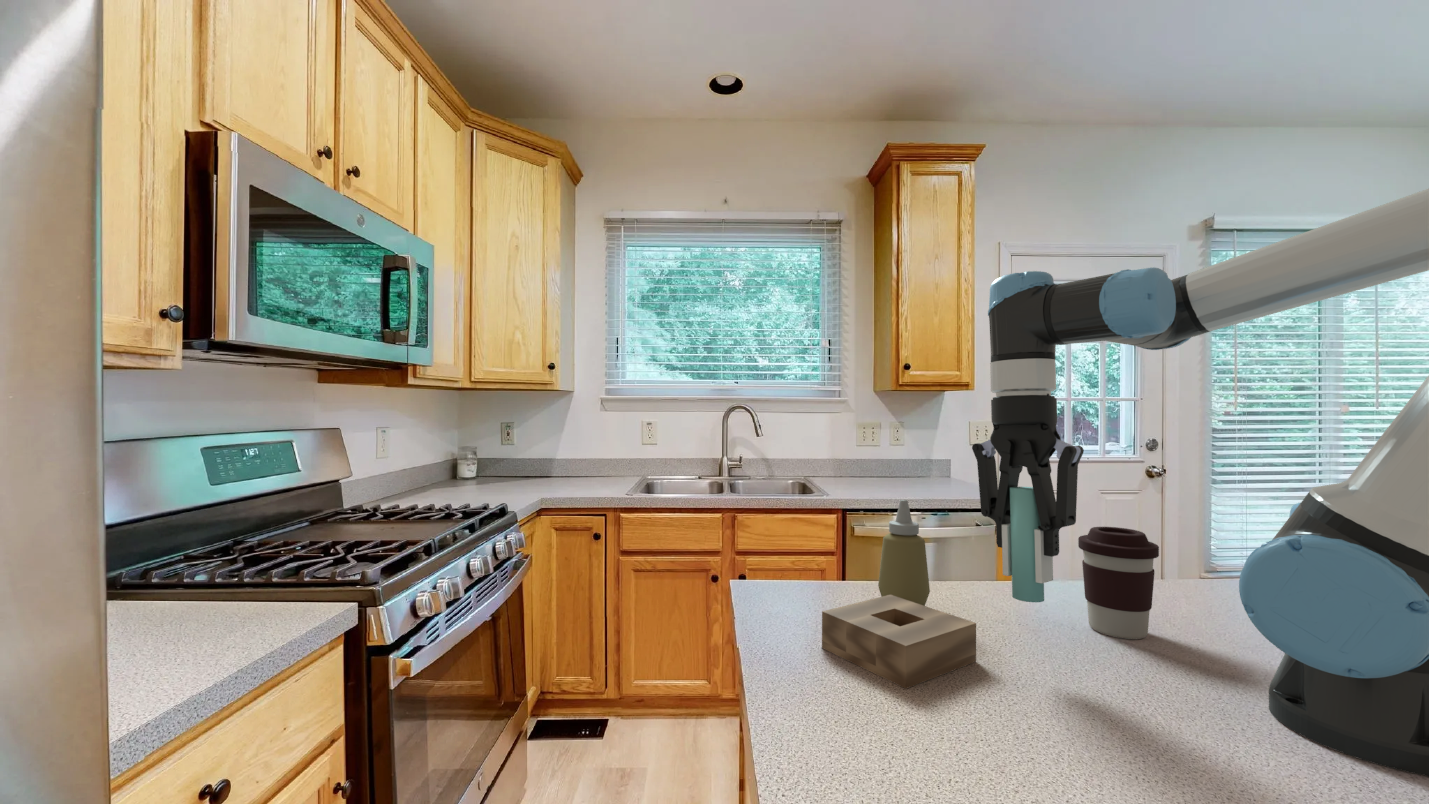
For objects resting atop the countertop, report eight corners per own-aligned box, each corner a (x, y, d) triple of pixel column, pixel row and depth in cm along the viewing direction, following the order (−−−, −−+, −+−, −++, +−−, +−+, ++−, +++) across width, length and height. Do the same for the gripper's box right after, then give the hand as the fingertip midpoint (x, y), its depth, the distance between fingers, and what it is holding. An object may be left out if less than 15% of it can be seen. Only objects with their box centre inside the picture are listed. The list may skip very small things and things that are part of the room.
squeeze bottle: (937, 620, 92) (937, 504, 92) (885, 619, 92) (885, 504, 92) (920, 603, 100) (920, 497, 100) (872, 602, 100) (872, 496, 100)
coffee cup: (1132, 620, 92) (1132, 525, 92) (1175, 645, 82) (1175, 538, 82) (1066, 618, 93) (1066, 523, 93) (1100, 642, 83) (1100, 536, 83)
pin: (1049, 599, 74) (1047, 488, 75) (1034, 604, 72) (1031, 490, 73) (1021, 592, 77) (1019, 486, 78) (1006, 597, 75) (1003, 487, 76)
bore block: (976, 661, 76) (976, 623, 76) (905, 688, 69) (905, 645, 69) (890, 628, 88) (890, 594, 88) (821, 648, 80) (822, 611, 81)
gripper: (1107, 392, 71) (1113, 587, 70) (980, 397, 85) (984, 561, 84) (1077, 390, 67) (1082, 598, 66) (948, 396, 81) (952, 568, 80)
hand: (1027, 577), depth 75 cm, fingers closed on pin, 3 cm apart
